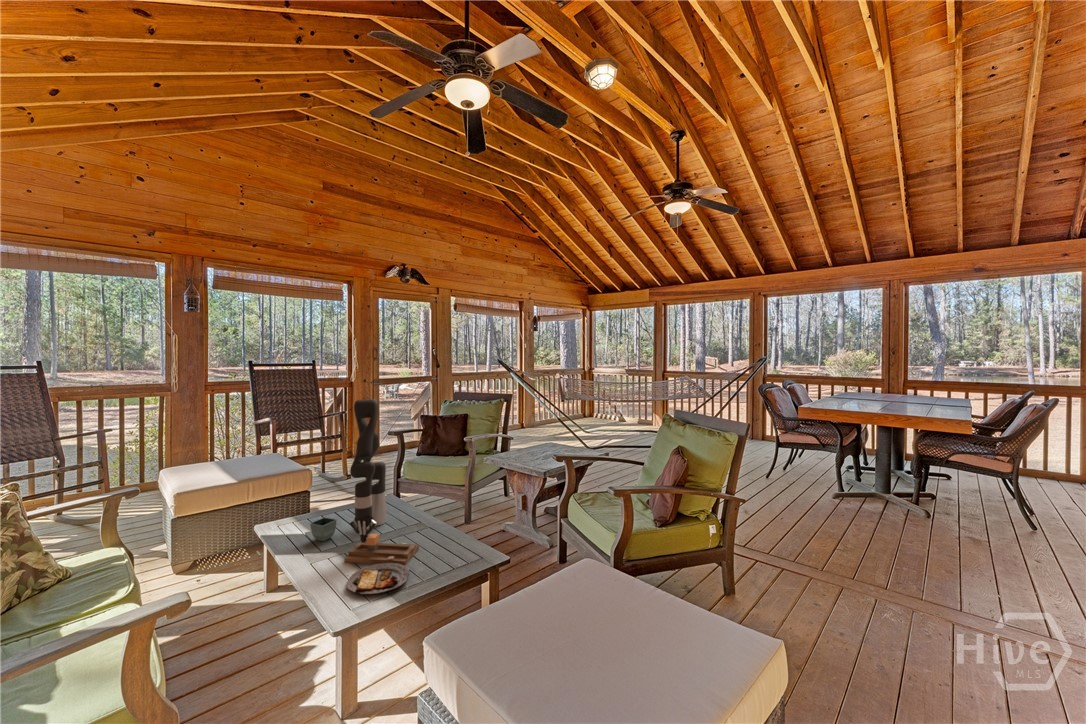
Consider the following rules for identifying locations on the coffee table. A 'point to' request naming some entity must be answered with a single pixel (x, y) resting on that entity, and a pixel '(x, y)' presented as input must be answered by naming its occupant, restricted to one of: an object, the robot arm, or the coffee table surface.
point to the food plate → (371, 584)
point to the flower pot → (323, 528)
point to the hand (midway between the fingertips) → (364, 541)
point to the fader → (373, 541)
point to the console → (382, 553)
